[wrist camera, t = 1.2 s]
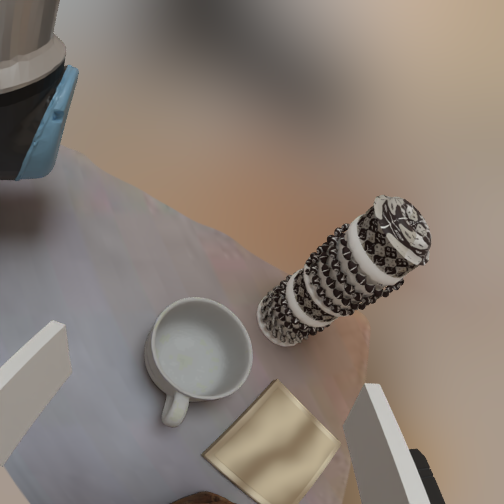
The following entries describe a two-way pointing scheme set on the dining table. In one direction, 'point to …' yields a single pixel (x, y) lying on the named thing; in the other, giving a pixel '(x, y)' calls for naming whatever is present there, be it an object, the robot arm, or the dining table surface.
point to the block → (203, 499)
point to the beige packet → (273, 448)
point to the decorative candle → (347, 271)
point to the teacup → (196, 354)
